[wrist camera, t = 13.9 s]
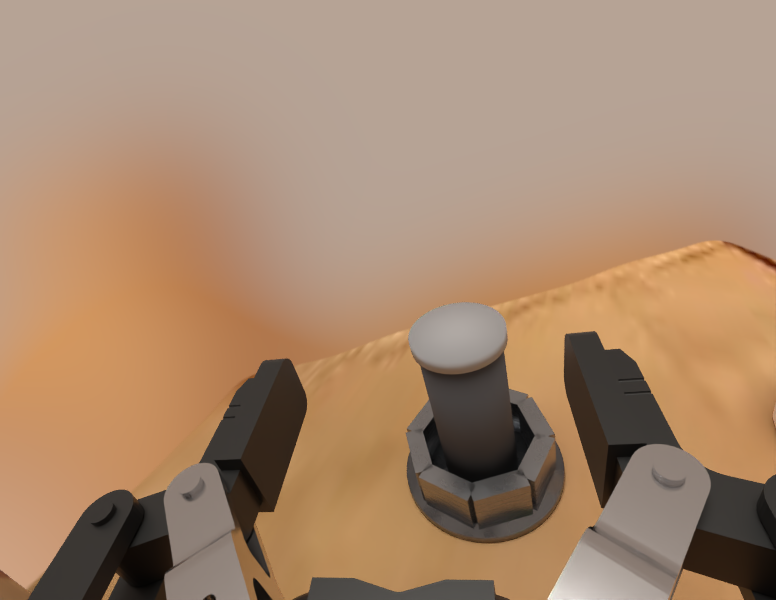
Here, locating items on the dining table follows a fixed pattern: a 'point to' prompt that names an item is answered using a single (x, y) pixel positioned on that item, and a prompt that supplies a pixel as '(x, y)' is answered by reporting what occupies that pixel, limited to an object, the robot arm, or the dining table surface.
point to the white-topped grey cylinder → (468, 387)
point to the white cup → (774, 415)
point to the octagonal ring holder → (488, 480)
